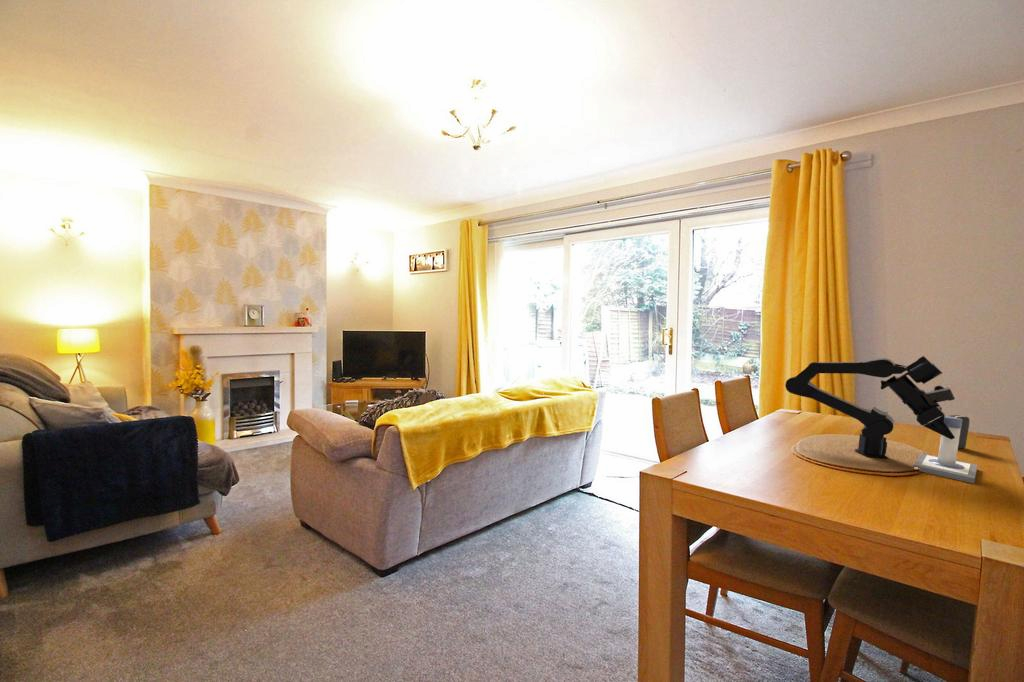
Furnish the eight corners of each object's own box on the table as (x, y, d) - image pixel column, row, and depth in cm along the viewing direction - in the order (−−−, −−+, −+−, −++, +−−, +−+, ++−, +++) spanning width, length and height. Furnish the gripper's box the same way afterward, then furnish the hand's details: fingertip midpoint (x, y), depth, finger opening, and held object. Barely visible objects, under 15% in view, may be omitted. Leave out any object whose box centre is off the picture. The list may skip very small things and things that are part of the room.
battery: (953, 445, 171) (958, 413, 170) (966, 448, 168) (971, 416, 167) (939, 445, 170) (944, 414, 169) (952, 449, 166) (956, 417, 165)
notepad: (974, 483, 132) (974, 477, 132) (913, 469, 142) (914, 463, 141) (976, 469, 145) (977, 463, 145) (920, 457, 154) (921, 452, 154)
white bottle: (935, 462, 143) (941, 417, 142) (938, 460, 146) (945, 415, 145) (954, 467, 140) (960, 420, 139) (957, 464, 143) (963, 418, 141)
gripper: (937, 380, 136) (985, 426, 131) (934, 374, 151) (977, 415, 145) (898, 402, 142) (943, 447, 136) (898, 394, 157) (939, 434, 151)
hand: (951, 435), depth 142 cm, fingers open, 9 cm apart
